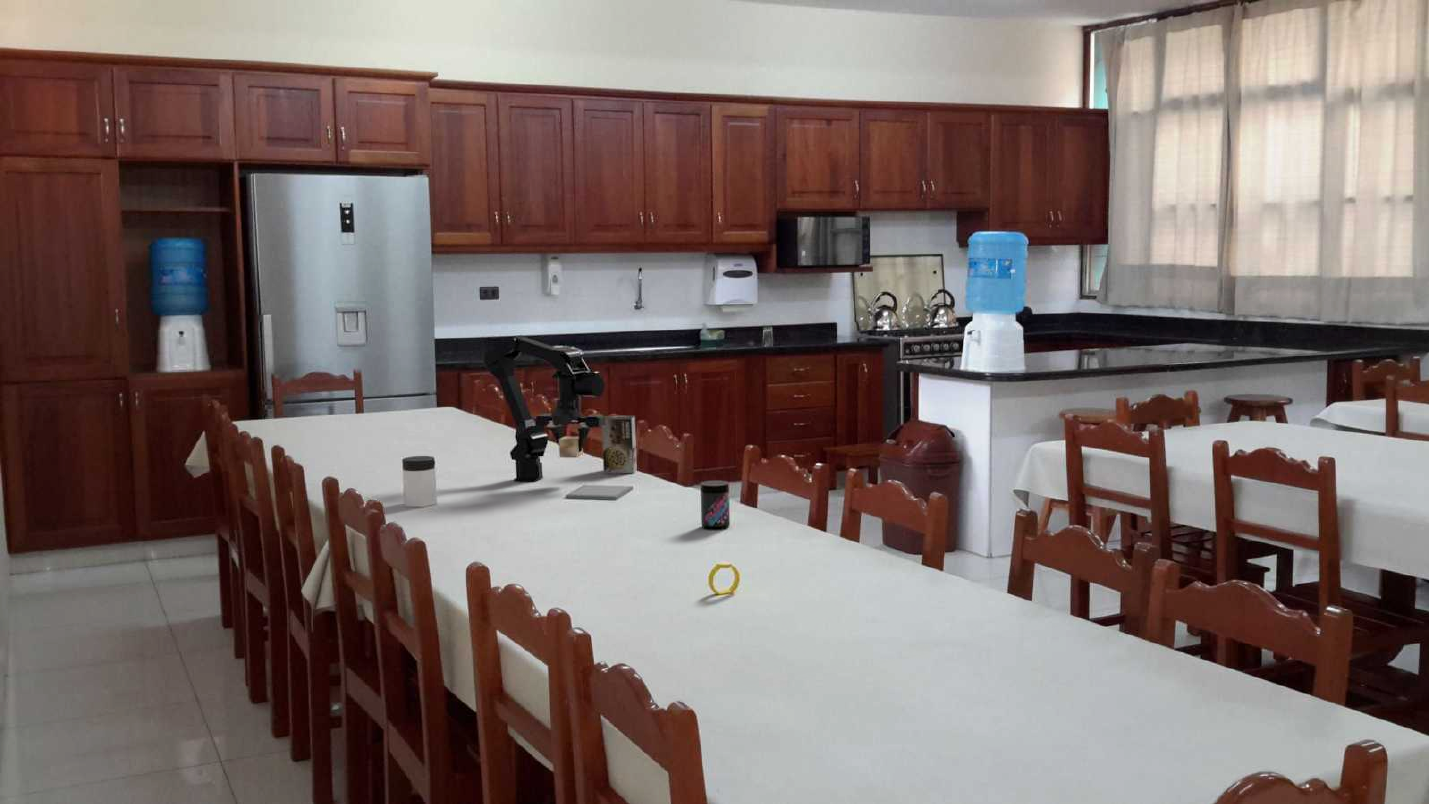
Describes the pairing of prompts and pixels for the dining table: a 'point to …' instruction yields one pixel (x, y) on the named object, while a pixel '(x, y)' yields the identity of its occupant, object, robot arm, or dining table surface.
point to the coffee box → (619, 444)
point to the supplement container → (715, 505)
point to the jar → (419, 481)
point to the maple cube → (569, 447)
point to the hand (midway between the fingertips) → (571, 451)
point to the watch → (713, 572)
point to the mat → (599, 492)
